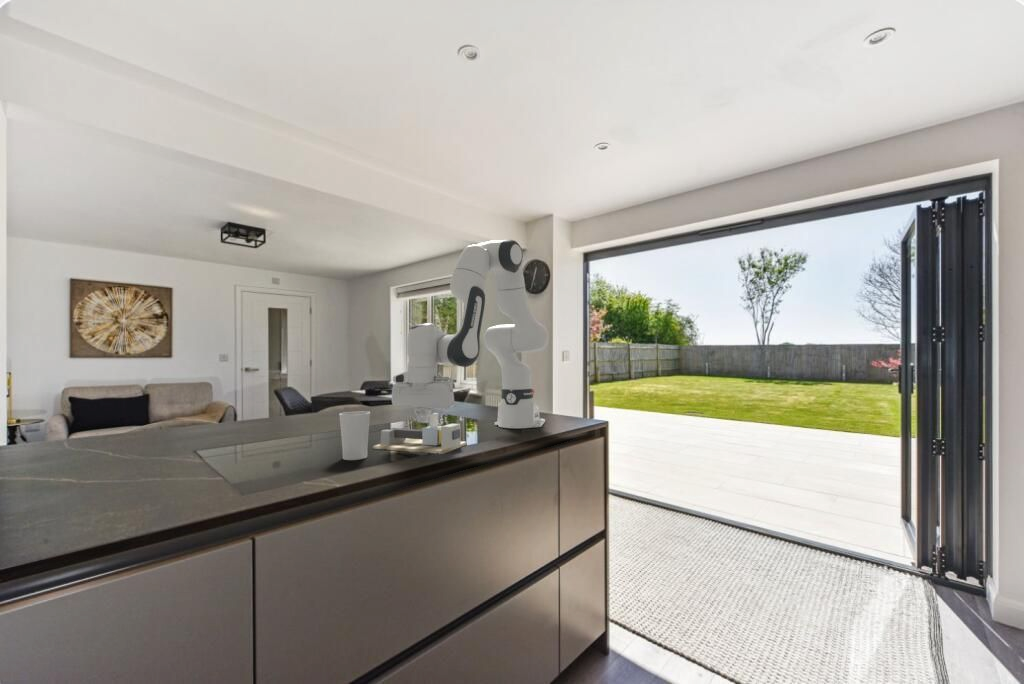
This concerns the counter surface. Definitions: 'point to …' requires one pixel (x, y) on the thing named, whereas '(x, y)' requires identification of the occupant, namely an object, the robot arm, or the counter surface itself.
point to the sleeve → (431, 431)
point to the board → (417, 446)
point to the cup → (354, 434)
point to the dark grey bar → (411, 433)
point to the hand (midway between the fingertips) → (422, 422)
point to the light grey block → (390, 436)
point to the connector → (450, 435)
